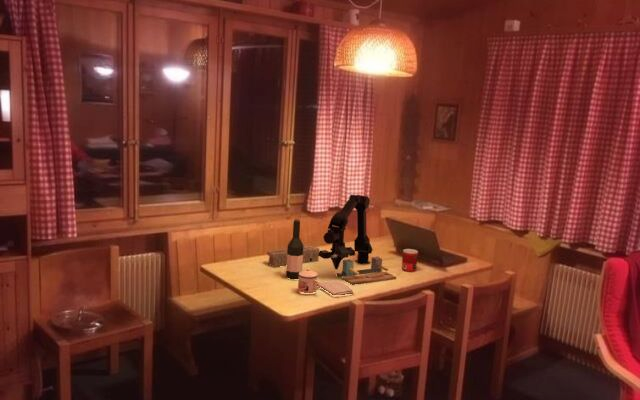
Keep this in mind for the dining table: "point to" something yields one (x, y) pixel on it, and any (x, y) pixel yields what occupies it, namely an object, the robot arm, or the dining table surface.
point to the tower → (280, 256)
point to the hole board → (369, 278)
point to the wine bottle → (294, 253)
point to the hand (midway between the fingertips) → (336, 269)
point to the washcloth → (336, 287)
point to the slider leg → (349, 267)
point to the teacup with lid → (308, 281)
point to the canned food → (409, 260)
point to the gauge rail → (375, 267)
